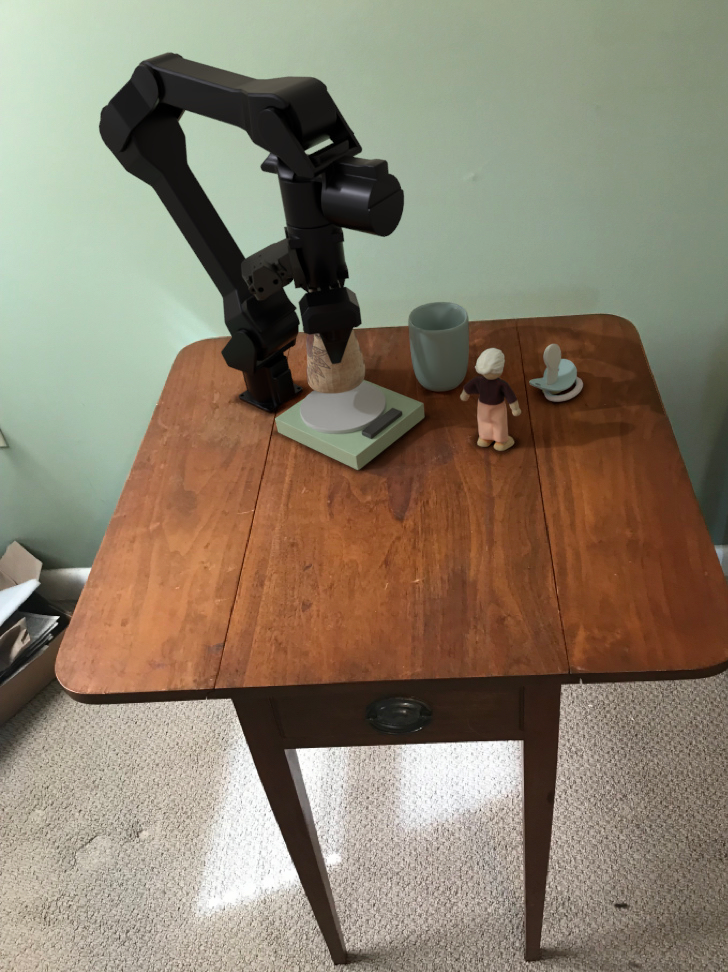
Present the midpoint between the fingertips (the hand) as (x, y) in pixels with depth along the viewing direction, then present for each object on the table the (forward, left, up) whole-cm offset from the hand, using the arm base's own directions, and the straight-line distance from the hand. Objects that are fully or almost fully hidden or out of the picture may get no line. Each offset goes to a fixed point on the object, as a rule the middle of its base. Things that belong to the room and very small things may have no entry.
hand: (332, 348), depth 92 cm
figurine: (0, 0, -5) cm, 5 cm away
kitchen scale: (+1, 0, -11) cm, 11 cm away
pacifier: (+19, +21, -11) cm, 31 cm away
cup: (+5, +14, -11) cm, 19 cm away
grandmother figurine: (+18, +7, -11) cm, 22 cm away
